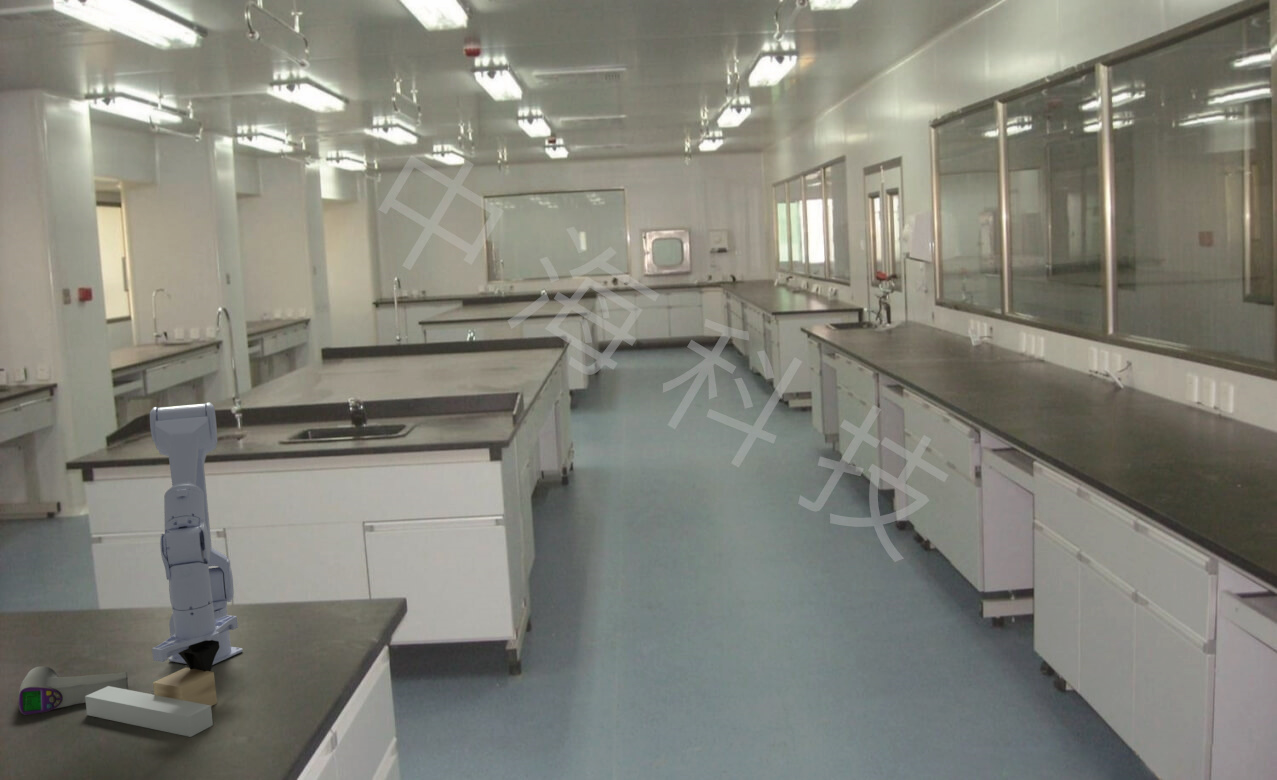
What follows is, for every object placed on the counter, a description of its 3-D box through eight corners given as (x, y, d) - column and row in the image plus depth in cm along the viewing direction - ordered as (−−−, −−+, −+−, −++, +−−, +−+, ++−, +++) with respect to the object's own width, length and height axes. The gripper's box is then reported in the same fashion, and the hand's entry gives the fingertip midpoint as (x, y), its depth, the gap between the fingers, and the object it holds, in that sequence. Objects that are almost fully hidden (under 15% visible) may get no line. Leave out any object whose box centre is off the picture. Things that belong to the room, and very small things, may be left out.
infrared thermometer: (128, 702, 165) (18, 719, 158) (126, 677, 176) (23, 692, 169) (127, 674, 165) (17, 690, 158) (125, 651, 175) (22, 664, 169)
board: (87, 715, 158) (85, 696, 157) (110, 704, 161) (108, 686, 161) (190, 736, 148) (188, 716, 148) (213, 725, 152) (210, 705, 151)
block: (156, 714, 157) (153, 682, 156) (189, 698, 162) (185, 667, 162) (185, 719, 154) (181, 687, 154) (217, 703, 160) (213, 671, 159)
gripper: (171, 623, 151) (182, 711, 153) (247, 591, 164) (257, 673, 166) (138, 618, 154) (149, 705, 156) (215, 587, 167) (224, 668, 169)
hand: (202, 688), depth 161 cm, fingers closed, pressing on block
